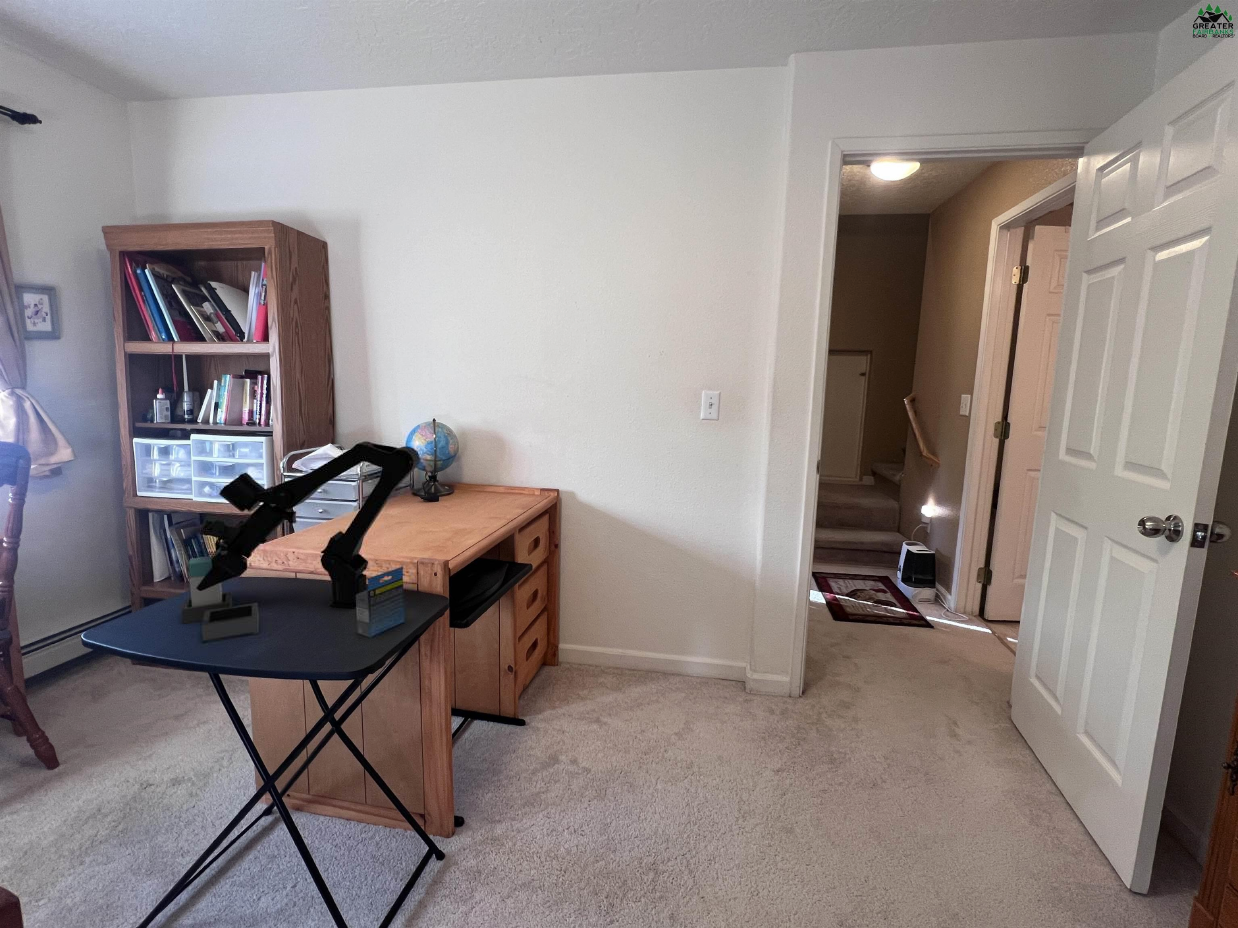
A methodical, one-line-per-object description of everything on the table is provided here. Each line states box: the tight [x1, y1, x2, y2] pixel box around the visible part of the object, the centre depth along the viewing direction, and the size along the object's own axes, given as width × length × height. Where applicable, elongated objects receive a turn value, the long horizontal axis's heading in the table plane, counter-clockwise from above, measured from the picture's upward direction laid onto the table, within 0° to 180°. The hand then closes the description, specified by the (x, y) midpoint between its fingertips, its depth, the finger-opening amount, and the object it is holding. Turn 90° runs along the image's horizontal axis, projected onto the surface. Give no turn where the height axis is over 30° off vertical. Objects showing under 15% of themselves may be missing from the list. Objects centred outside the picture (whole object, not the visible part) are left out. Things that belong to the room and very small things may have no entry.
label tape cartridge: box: [355, 566, 406, 638], centre depth 118 cm, size 9×4×12 cm, turn 152°
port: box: [201, 602, 260, 644], centre depth 115 cm, size 9×8×4 cm
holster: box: [181, 591, 233, 624], centre depth 123 cm, size 8×7×3 cm
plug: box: [188, 555, 223, 607], centre depth 122 cm, size 5×4×12 cm
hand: (200, 582), depth 121 cm, fingers open, 9 cm apart
